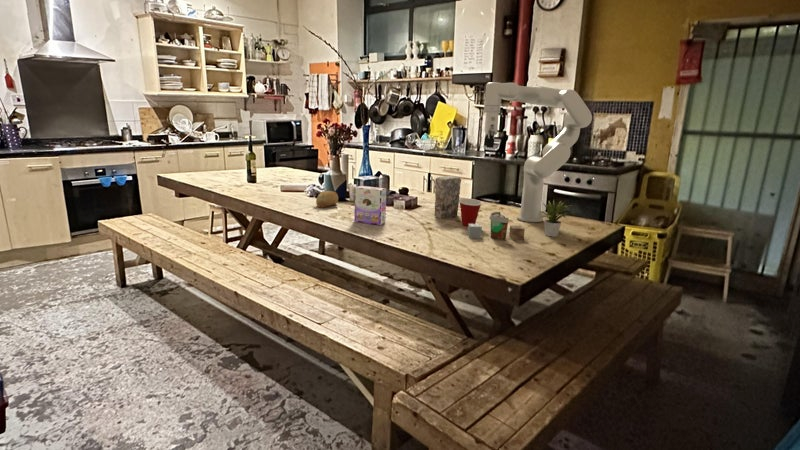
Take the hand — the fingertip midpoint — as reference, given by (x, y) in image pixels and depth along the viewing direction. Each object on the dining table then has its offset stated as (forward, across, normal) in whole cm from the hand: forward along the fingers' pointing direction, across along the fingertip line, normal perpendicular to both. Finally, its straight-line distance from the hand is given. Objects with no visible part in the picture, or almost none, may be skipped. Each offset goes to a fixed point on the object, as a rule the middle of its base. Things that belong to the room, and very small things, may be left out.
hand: (488, 146), depth 219 cm
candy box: (+36, -18, +54) cm, 68 cm away
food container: (+36, -33, -1) cm, 49 cm away
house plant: (+36, -26, -27) cm, 52 cm away
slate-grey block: (+36, -34, +8) cm, 50 cm away
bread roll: (+36, +14, +80) cm, 89 cm away
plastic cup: (+36, -16, +8) cm, 40 cm away
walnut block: (+36, -33, -10) cm, 50 cm away
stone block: (+36, +2, +18) cm, 40 cm away
